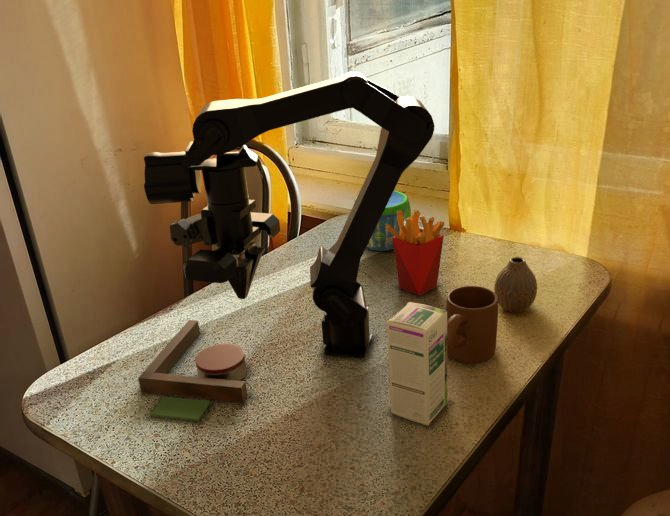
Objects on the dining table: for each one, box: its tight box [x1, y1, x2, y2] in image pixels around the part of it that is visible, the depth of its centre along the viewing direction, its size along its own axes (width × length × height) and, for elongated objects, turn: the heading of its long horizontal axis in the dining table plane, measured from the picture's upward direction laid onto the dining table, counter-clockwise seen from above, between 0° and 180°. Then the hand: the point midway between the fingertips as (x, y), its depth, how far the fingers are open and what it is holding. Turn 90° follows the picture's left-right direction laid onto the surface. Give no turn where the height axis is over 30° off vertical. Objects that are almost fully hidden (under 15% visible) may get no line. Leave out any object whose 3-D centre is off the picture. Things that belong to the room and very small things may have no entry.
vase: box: [493, 256, 538, 314], centre depth 111 cm, size 7×7×9 cm
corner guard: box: [137, 319, 248, 403], centre depth 101 cm, size 16×17×2 cm
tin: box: [194, 343, 248, 381], centre depth 98 cm, size 7×7×3 cm
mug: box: [445, 285, 499, 365], centre depth 98 cm, size 12×8×9 cm, turn 148°
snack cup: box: [354, 190, 412, 252], centre depth 136 cm, size 16×10×10 cm
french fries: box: [385, 209, 445, 296], centre depth 116 cm, size 9×8×15 cm
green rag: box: [150, 396, 211, 422], centre depth 92 cm, size 7×4×1 cm, turn 78°
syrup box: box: [386, 301, 448, 427], centre depth 86 cm, size 6×6×14 cm
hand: (242, 297), depth 99 cm, fingers closed
